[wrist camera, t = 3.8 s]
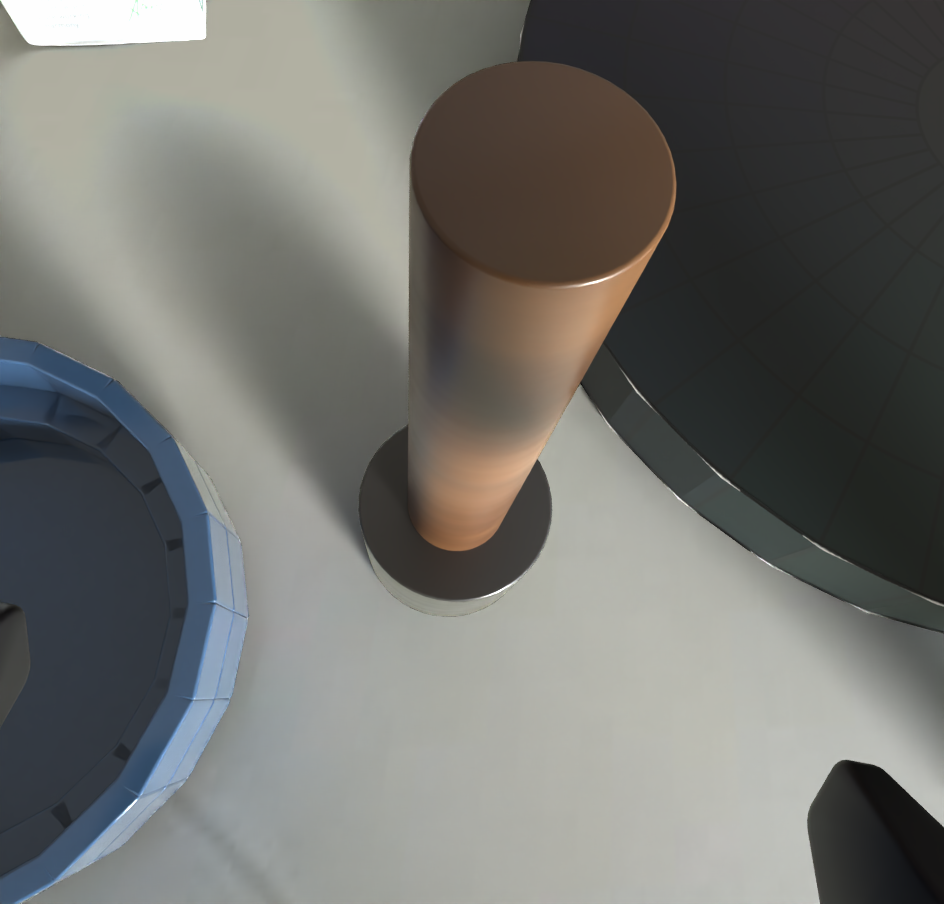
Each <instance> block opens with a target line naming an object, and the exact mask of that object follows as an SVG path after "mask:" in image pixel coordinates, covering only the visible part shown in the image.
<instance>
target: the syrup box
mask: <svg viewBox="0 0 944 904" xmlns="http://www.w3.org/2000/svg"><path fill="white" fill-rule="evenodd" d="M0 1H1V3H2V4H3V6H4V7H5V9H6V11H7V12H8V14H9V16H10V17H11V19H12V21H13V22H14V24H15V26H16V27H17V29H18V30H19V32H20V34H21V35H22V37H23V38H24V39H25V41H26V42H28V43H29V44H32V45H40V46H51V45H58V46H72V45H73V46H82V45H105V44H126V43H146V42H163V41H181V40H193V39H204V38H205V37H206V0H0Z"/></svg>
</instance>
